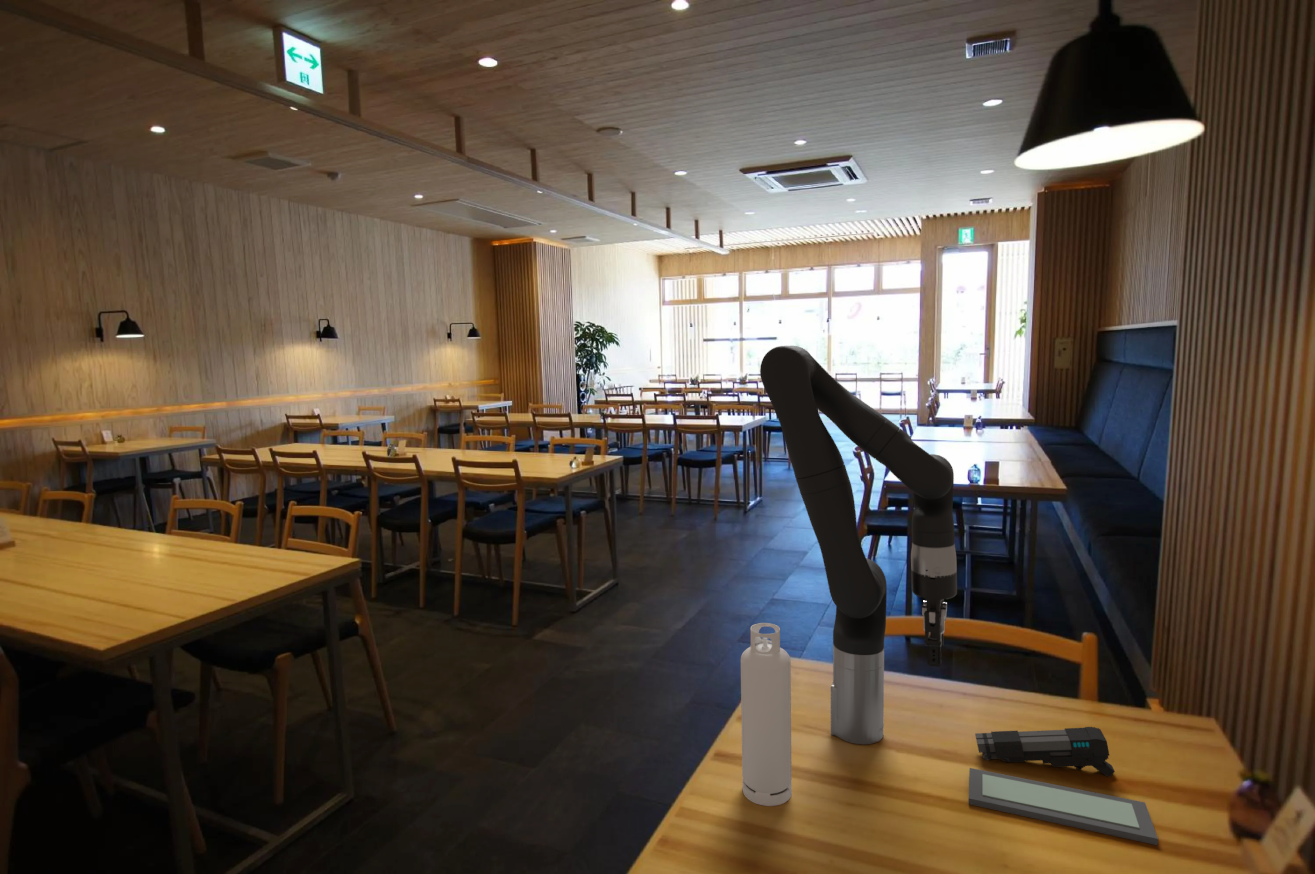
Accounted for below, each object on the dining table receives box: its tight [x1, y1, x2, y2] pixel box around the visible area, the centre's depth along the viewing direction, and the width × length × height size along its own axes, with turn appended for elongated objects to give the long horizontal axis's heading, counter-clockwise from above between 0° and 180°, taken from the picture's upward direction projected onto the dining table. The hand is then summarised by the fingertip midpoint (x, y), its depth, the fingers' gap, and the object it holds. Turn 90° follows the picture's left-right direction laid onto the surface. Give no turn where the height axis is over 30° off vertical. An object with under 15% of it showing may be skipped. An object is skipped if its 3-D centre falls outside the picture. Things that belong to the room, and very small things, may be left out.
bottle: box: [740, 622, 793, 807], centre depth 116 cm, size 8×8×28 cm
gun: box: [974, 726, 1116, 778], centre depth 122 cm, size 4×20×10 cm, turn 72°
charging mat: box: [968, 767, 1159, 846], centre depth 111 cm, size 25×9×1 cm, turn 65°
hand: (935, 655), depth 127 cm, fingers open, 8 cm apart
